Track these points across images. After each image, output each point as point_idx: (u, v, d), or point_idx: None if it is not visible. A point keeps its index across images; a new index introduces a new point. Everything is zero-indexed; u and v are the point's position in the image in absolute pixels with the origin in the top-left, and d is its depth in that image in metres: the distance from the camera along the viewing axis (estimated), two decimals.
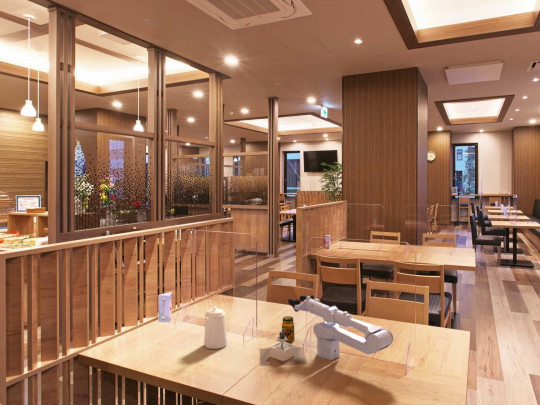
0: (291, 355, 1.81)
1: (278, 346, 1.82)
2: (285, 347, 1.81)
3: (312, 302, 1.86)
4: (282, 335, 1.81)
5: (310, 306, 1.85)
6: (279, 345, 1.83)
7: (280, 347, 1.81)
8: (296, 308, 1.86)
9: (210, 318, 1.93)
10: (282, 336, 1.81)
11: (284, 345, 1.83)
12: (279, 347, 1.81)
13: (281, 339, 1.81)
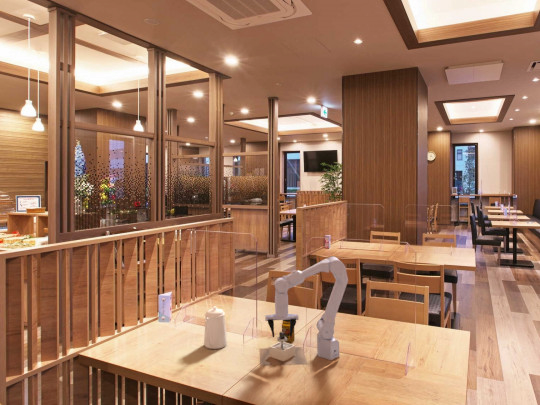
0: (291, 355, 1.81)
1: (278, 346, 1.82)
2: (285, 347, 1.81)
3: (285, 309, 1.79)
4: (282, 335, 1.81)
5: (287, 308, 1.81)
6: (279, 345, 1.83)
7: (280, 347, 1.81)
8: None
9: (210, 318, 1.93)
10: (282, 336, 1.81)
11: (284, 345, 1.83)
12: (279, 347, 1.81)
13: (281, 339, 1.81)
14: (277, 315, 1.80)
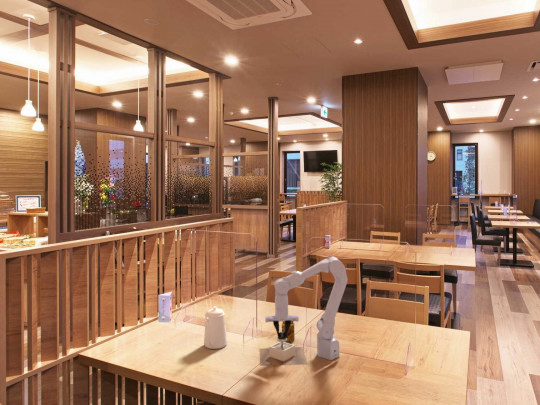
0: (291, 355, 1.81)
1: (278, 346, 1.82)
2: (285, 347, 1.81)
3: (285, 311, 1.79)
4: (282, 335, 1.81)
5: (287, 309, 1.81)
6: (279, 345, 1.83)
7: (280, 347, 1.81)
8: None
9: (210, 318, 1.93)
10: (282, 336, 1.81)
11: (284, 345, 1.83)
12: (279, 347, 1.81)
13: (281, 339, 1.81)
14: (277, 316, 1.80)
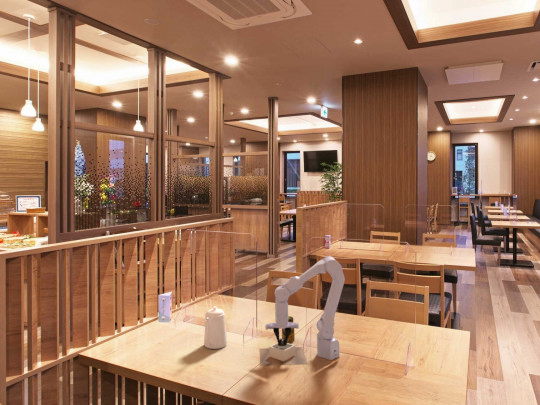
0: (291, 355, 1.81)
1: None
2: None
3: (285, 318, 1.79)
4: (282, 342, 1.81)
5: (287, 316, 1.81)
6: None
7: None
8: None
9: (210, 318, 1.93)
10: (282, 343, 1.81)
11: None
12: None
13: (281, 346, 1.81)
14: (277, 324, 1.80)
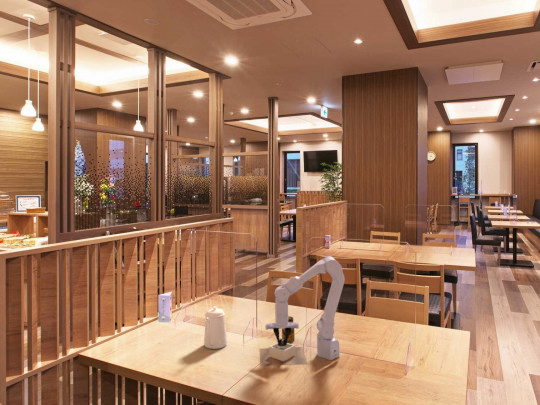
0: (291, 355, 1.81)
1: None
2: None
3: (285, 318, 1.79)
4: (282, 342, 1.81)
5: (287, 316, 1.81)
6: None
7: None
8: None
9: (210, 318, 1.93)
10: (282, 343, 1.81)
11: None
12: None
13: (281, 346, 1.81)
14: (277, 324, 1.80)
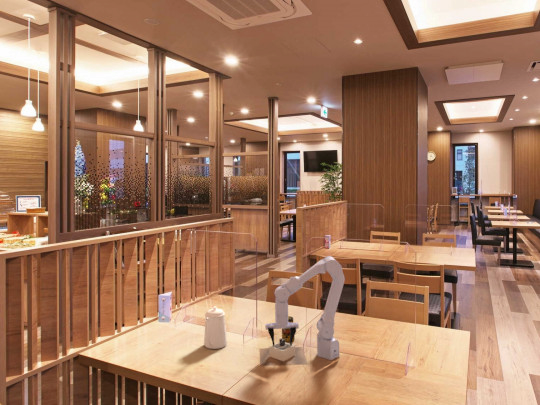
0: (291, 355, 1.81)
1: None
2: None
3: (285, 318, 1.79)
4: (282, 342, 1.81)
5: (287, 316, 1.81)
6: None
7: None
8: None
9: (210, 318, 1.93)
10: (282, 343, 1.81)
11: None
12: None
13: (281, 346, 1.81)
14: (277, 324, 1.80)
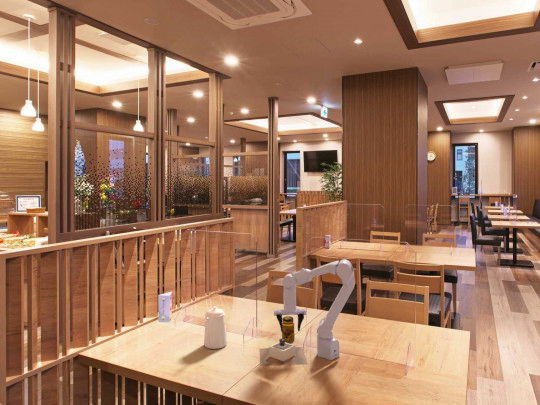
0: (291, 355, 1.81)
1: None
2: None
3: (293, 304, 1.84)
4: (282, 342, 1.81)
5: (295, 303, 1.85)
6: None
7: None
8: (305, 311, 1.87)
9: (210, 318, 1.93)
10: (282, 343, 1.81)
11: None
12: None
13: (281, 346, 1.81)
14: (285, 310, 1.84)
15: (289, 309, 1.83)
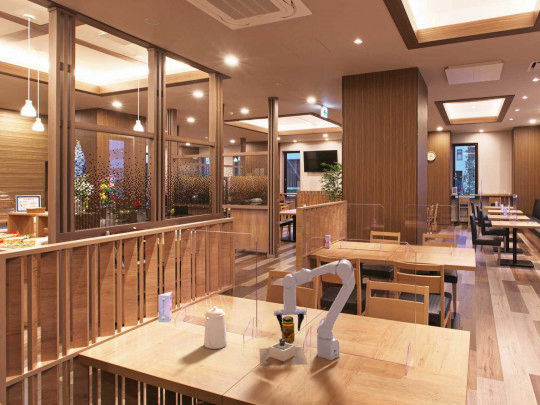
0: (291, 355, 1.81)
1: None
2: None
3: (293, 304, 1.84)
4: (282, 342, 1.81)
5: (295, 303, 1.85)
6: None
7: None
8: (305, 311, 1.87)
9: (210, 318, 1.93)
10: (282, 343, 1.81)
11: None
12: None
13: (281, 346, 1.81)
14: (285, 310, 1.84)
15: (289, 309, 1.83)
